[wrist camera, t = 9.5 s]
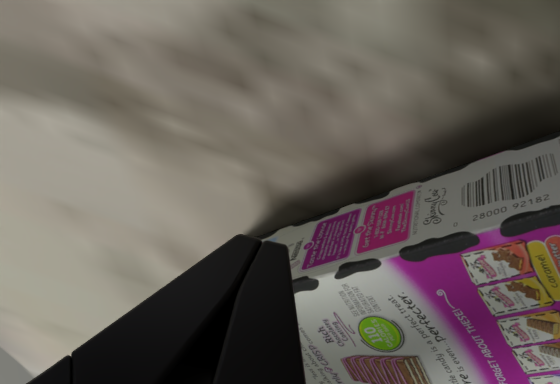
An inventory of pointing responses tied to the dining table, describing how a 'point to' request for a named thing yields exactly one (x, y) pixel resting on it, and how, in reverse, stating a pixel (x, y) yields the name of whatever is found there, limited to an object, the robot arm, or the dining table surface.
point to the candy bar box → (436, 278)
